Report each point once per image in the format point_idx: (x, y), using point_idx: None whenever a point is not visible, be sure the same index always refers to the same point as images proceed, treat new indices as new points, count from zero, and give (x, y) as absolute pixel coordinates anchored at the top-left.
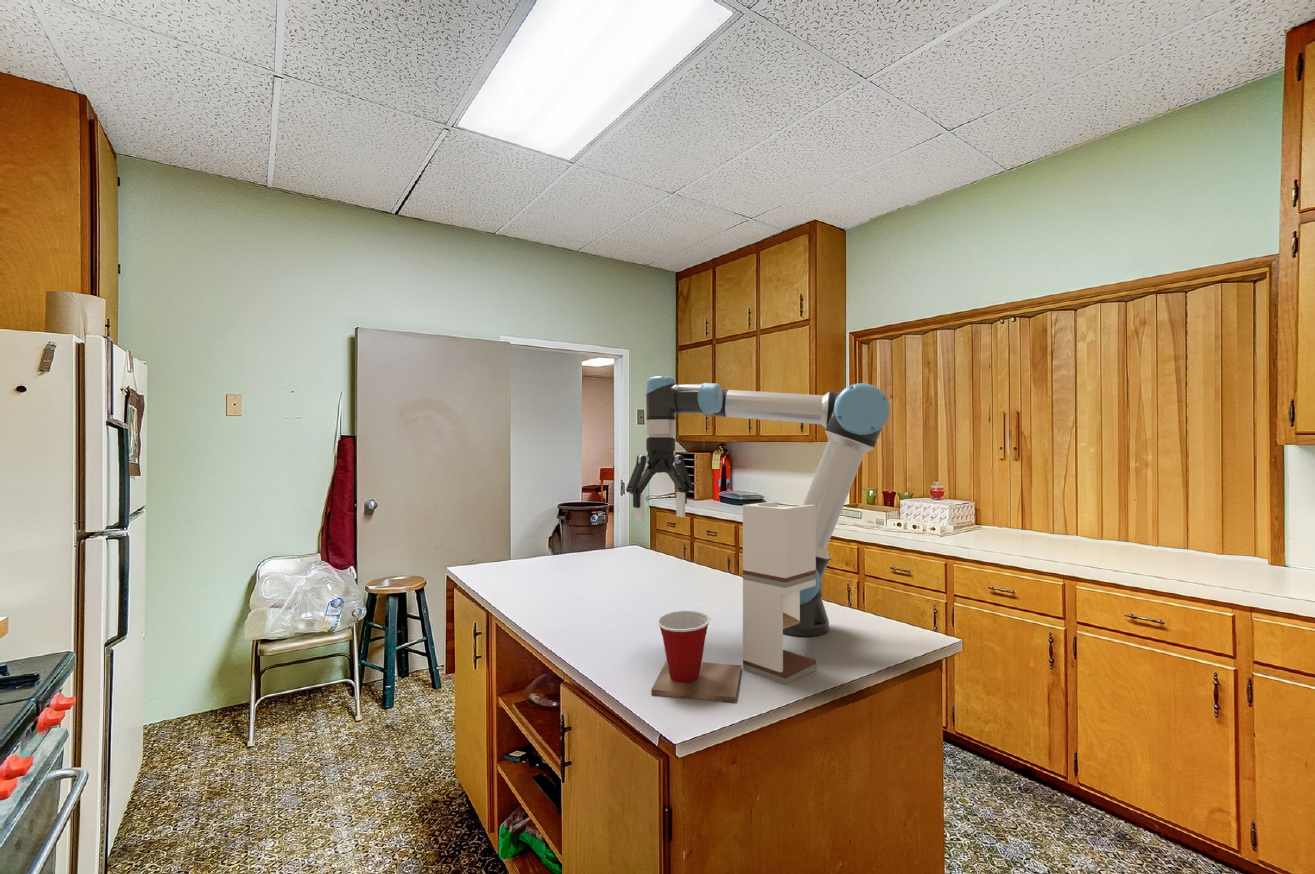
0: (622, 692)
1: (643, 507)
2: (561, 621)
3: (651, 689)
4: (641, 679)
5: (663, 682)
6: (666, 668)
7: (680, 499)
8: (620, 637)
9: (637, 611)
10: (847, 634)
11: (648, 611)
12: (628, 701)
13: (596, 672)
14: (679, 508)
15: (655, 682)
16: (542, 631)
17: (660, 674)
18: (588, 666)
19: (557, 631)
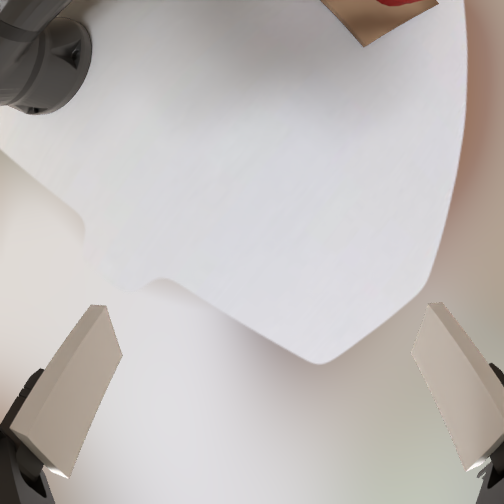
0: (458, 36)
1: (471, 357)
2: (361, 325)
3: (438, 3)
4: (424, 40)
5: (417, 2)
6: (388, 24)
7: (65, 410)
8: (347, 199)
9: (225, 302)
10: None
11: (207, 290)
12: (461, 18)
13: (455, 105)
14: (95, 369)
15: (425, 9)
16: (409, 299)
17: (407, 18)
18: (452, 130)
19: (397, 288)
